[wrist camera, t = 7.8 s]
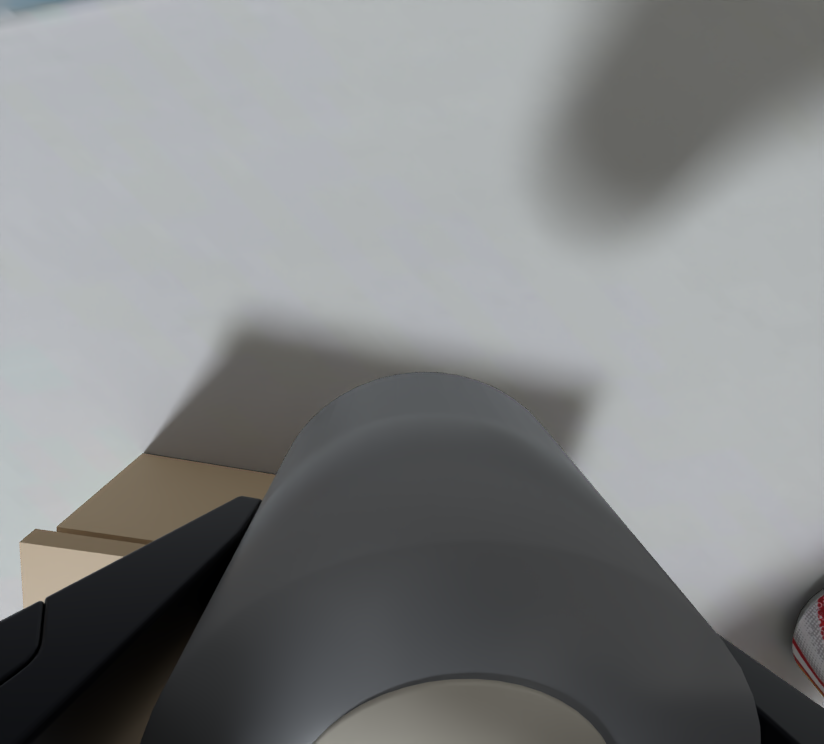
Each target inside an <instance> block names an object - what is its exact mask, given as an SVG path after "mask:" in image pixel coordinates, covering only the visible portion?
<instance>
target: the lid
mask: <svg viewBox="0 0 824 744" xmlns="http://www.w3.org/2000/svg"><path fill="white" fill-rule="evenodd" d="M19 543H20V559H21V575H22V591H23V608H26V607H28V606H30V605H32V604H34V603H36V602H38V601H43V602H44V601H45V598H46V597H48V596H50V595H52V594H53V593H55V592H57V591H59V590H61V589H63V588H65V587H67V586H69V585H71V584H73V583H74V582H76V581H78V580H80V579H82V578H84V577H86V576H88V575H90V574H92V573H93V572H95V571H97V570H99V569H101V568H103V567H105V566H107V565H109V564H111V563H113V562H114V561H116V560H118V559H120V558H122V557H124V556H126V555H128V554H130V553H132V552H133V551H135V550H137V549H139V548H141V547H143V546H145V545H146V544H139V543H132V542H124V541H117V540H110V539H103V538H96V537H89V536H82V535H75V534H68V533H61V532H54V531H47V530H40V529H35V530H34V531H32V532H31V533H30V534H29V535H28V536H26V537H25V538H24V539H23V540H22V541H20V542H19Z"/></svg>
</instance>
